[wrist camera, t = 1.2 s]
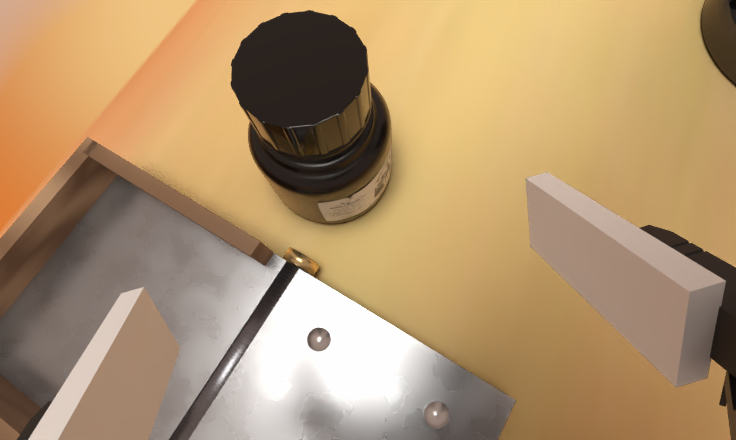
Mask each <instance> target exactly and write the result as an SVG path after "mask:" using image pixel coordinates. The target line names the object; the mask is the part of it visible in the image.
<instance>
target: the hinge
mask: <svg viewBox="0 0 736 440" xmlns="http://www.w3.org/2000/svg"><path fill="white" fill-rule="evenodd" d="M283 258H284V259H285V260H284V259H283ZM283 258H281V257H279V256H278V255H276V254H273V256H272V257H271V259H270V260H269V261H268V263H267V264H266V266H264V265H262V264H261V263H259V262H258V261H256V260H254V259H253V258H251V257H249V256H248V255H246V254H245V253H243V252H241V251H240V250H238V249H236V248H235V247H233V246H232V245H230V244H228V243H227V242H225V241H224V240H222V239H220V238H219V237H217V236H215V235H214V234H212V233H211V232H209V231H207V230H206V229H204V228H203V227H201V226H199V225H198V224H196V223H194V222H193V221H191V220H190V219H188V218H186V217H185V216H183V215H182V214H180V213H178V212H177V211H175V210H173V209H172V208H170V207H169V206H167V205H165V204H164V203H162V202H161V201H159V200H157V199H156V198H154V197H152V196H151V195H149V194H148V193H146V192H144V191H143V190H141V189H139V188H138V187H136V186H135V185H133V184H131V183H130V182H128V181H127V180H125V179H123V178H122V177H120V176H118V175H117V176H116V177H115V179H114V180H113V181H112V182H111V183H110V185H109V186H108V187H107V188H106V190H105V191H104V192H103V193H102V195H101V196H100V197H99V198H98V199H97V201H96V202H95V203H94V204H93V206H92V207H91V208H90V209H89V210H88V212H87V213H86V214H85V215H84V217H83V218H82V219H81V220H80V222H79V223H78V224H77V225H76V226H75V228H74V229H73V230H72V231H71V233H70V234H69V235H68V236H67V237H66V239H65V240H64V241H63V242H62V244H61V245H60V246H59V247H58V249H57V250H56V251H55V252H54V253H53V255H52V256H51V257H50V258H49V260H48V261H47V262H46V263H45V264H44V266H43V267H42V268H41V269H40V271H39V272H38V273H37V274H36V276H35V277H34V278H33V279H32V280H31V282H30V283H29V284H28V285H27V287H26V288H25V289H24V290H23V291H22V293H21V294H20V295H19V296H18V298H17V299H16V300H15V301H14V303H13V304H12V305H11V306H10V307H9V309H8V310H7V311H6V312H5V314H4V315H3V316H2V317H1V318H0V375H1V376H3V377H4V378H5V379H6V380H8V381H9V382H10V383H11V384H13V385H14V386H15V387H16V388H17V389H19V390H20V391H21V392H22V393H24V394H25V395H26V396H27V397H29V398H30V399H31V400H32V401H33V402H35V403H36V404H37V405H38V406H40V407H41V408H42V407H43V406H44V405H45V404H46V403H47V402H49V401H52V400H54V398H55V397H56V395H57V394H58V392H59V390H60V389H61V387H62V386H63V384H64V383H65V381H66V379H67V378H68V376H69V375H70V373H71V371H72V370H73V368H74V367H75V365H76V364H77V362H78V360H79V359H80V357H81V356H82V354H83V353H84V351H85V349H86V348H87V346H88V345H89V343H90V342H91V340H92V338H93V337H94V335H95V334H96V332H97V331H98V329H99V327H100V326H101V324H102V323H103V321H104V320H105V318H106V316H107V315H108V313H109V312H110V310H111V309H112V307H113V305H114V304H115V302H116V301H117V299H118V298H119V296H120V294H121V293H124V292H128V291H131V290H135V289H138V288H142V287H145V289H146V291H147V292H148V294H149V296H150V298H151V299H152V301H153V303H154V304H155V306H156V308H157V309H158V311H159V313H160V314H161V316H162V318H163V320H164V321H165V323H166V325H167V326H168V328H169V330H170V331H171V333H172V335H173V336H174V338H175V340H176V342H177V343H178V345H179V347H180V351H179V354H178V357H177V359H176V362H175V365H174V368H173V371H172V374H171V377H170V380H169V382H168V385H167V388H166V391H165V394H164V397H163V400H162V402H161V405H160V408H159V411H158V414H157V417H156V420H155V422H154V425H153V428H152V431H151V434H150V437H149V440H498V438H499V436H500V434H501V431H502V429H503V427H504V425H505V423H506V421H507V419H508V417H509V414H510V412H511V410H512V408H513V406H514V404H515V402H516V400H515V399H513V398H512V397H510V396H508V395H507V394H505V393H503V392H502V391H500V390H498V389H497V388H495V387H493V386H492V385H490V384H488V383H487V382H485V381H484V380H482V379H480V378H479V377H477V376H475V375H474V374H472V373H470V372H469V371H467V370H465V369H464V368H462V367H461V366H459V365H457V364H456V363H454V362H452V361H451V360H449V359H447V358H446V357H444V356H442V355H441V354H439V353H437V352H436V351H434V350H433V349H431V348H429V347H428V346H426V345H424V344H423V343H421V342H419V341H418V340H416V339H414V338H413V337H411V336H409V335H408V334H406V333H405V332H403V331H401V330H400V329H398V328H396V327H395V326H393V325H391V324H390V323H388V322H386V321H385V320H383V319H381V318H380V317H378V316H377V315H375V314H373V313H372V312H370V311H368V310H367V309H365V308H363V307H362V306H360V305H358V304H357V303H355V302H354V301H352V300H350V299H349V298H347V297H345V296H344V295H342V294H340V293H339V292H337V291H335V290H334V289H332V288H330V287H329V286H327V285H326V284H324V283H322V282H321V281H319V280H317V279H316V278H314V277H313V276H314V274H315V273H316V271H317V270H318V268H319V267H320V266H319V265H318V264H316V263H315V262H314V261H312V260H311V259H309V258H308V257H306V256H305V255H303V254H301V253H300V252H298V251H296V250H294V249H292V248H289V249H288V251H287V252H286V254H285V255H284V257H283Z"/></svg>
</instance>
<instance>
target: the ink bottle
mask: <svg viewBox="0 0 736 440" xmlns="http://www.w3.org/2000/svg"><path fill="white" fill-rule="evenodd" d="M231 66H232V81H231V87H232V89H233V91H234V93H235V94H236V96H237V98H238V100H239V104H240V106H241V108H242V109H243V111H244V112H245V114H246V116H247V117H248V119H249V121H250V122H249V128H248V142H249V148H250V152H251V155H252V157H253V159H254V161H255V163H256V165H257V167H258V168H259V170H260V171H261V172H262V174H263V175H264V177H265V178H266V179H267V181H268V182H269V183H270V185H271V186H272V188H273V189H274V190H275V192H276V193H277V194H278V196H279V197H280V199H281V200H282V201H283V202H284V203H285V205H286V206H287V207H289V208H290V209H291V210H292V211H293V212H295V213H296V214H298V215H300V216H302V217H304V218H306V219H309V220H312V221H315V222H320V223H342V222H347V221H350V220H353V219H355V218H357V217H359V216H361V215H363V214H364V213H366V212H367V211H368V210H370V209H371V208H372V207H373V206H374V205H375V204H376V203H377V201H378V200H379V199H380V198H381V196H382V195H383V193H384V191H385V189H386V187H387V185H388V182H389V179H390V175H391V167H392V144H391V119H390V114H389V110H388V107H387V104H386V102H385V100H384V98H383V96H382V95H381V93H380V92H379V91H378V90H377V88H376V87H375V86H374V85H373V84H372V83H370V78H369V67H368V56H367V49H366V46H365V45H363V43H362V41H361V40H360V38H359V36H358V35H357V33H356V30H355V29H354V28H353V27H350V26H348V25H347V24H345V23H344V22H342V21H341V20H339V19H338V18H337V17H336V16H334V15H327V14H322V13H318V12H314V11H311V10H308V11H304V12H294V13H283V14H281V15H280V16H278V17H276V18H273V19H271V20H269V21H267V22H263V23H261V24H260V25H258V27H257V28H256V29H255V30H254V31H253V32H252V33H251V34H250V35H248V36H247V37H246V38H244V39H243V40H242V42H241V44H240V47H239V49H238V51H237V53H236V55H235V57H234V59H233V60H232V62H231Z"/></svg>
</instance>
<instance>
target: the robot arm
mask: <svg viewBox="0 0 736 440" xmlns="http://www.w3.org/2000/svg"><path fill="white" fill-rule="evenodd" d="M701 22H702V32H703V36H704V40H705V43H706V45H707V48H708V50H709V52H710V54H711V56H712V57H713V59H714V60H715V62H716V63H717V65H718V66H719V67H720V69H721V70H722V71H723V72H724V73H725V74H726V75H727V76H728V77H729V78H730V79H731V80H732V81H733V82H734V83H735V84H736V0H706V1H705V3H704V6H703V10H702V21H701ZM526 190H527V205H528V219H529V234H530V247H531V248H532V249H533V250H534V251H535V252H536V253H537V254H539V255H540V256H541V257H542V258H543V259H544V260H545V261H546V262H547V263H548V264H549V265H550V266H551V267H552V268H553V269H554V270H555V271H556V272H557V273H558V274H559V275H560V276H561V277H562V278H563V279H564V280H565V281H566V282H567V283H568V284H569V285H570V286H572V287H573V288H574V289H575V290H576V291H577V292H578V293H579V294H580V295H581V296H582V297H583V298H584V299H585V300H586V301H587V302H588V303H589V304H590V305H591V306H592V307H593V308H594V309H595V310H596V311H597V312H598V313H599V314H600V315H601V316H602V317H603V318H605V319H606V320H607V321H608V322H609V323H610V324H611V325H612V326H613V327H614V328H615V329H616V330H617V331H618V332H619V333H620V334H621V335H622V336H623V337H624V338H625V339H626V340H627V341H628V342H629V343H630V344H631V345H632V346H633V347H634V348H635V349H636V350H638V351H639V352H640V353H641V354H642V355H643V356H644V357H645V358H646V359H647V360H648V361H649V362H650V363H651V364H652V365H653V366H654V367H655V368H656V369H657V370H658V371H659V372H660V373H661V374H662V375H663V376H664V377H665V378H666V379H667V380H668V381H669V382H670V383H672V384H673V385H674V386H675V387H680V386H683V385H686V384H689V383H693V382H696V381H699V380H703V379H706V378H708V372H709V367H710V362H711V358H712V359H713V360H714V361H715V362H717V363H718V364H719V365H720V366H721V367H723V368H724V369H725V370H726V371H727V372H726V376H725V381H724V386H723V390H722V395H721V399H720V404H719V405H721V406H725V407H726V404H727V409H728V418H729V427H730V435H731V440H736V268H735V267H733V266H732V265H730V264H728V263H726V262H724V261H723V260H721V259H719V258H717V257H716V256H714V255H712V254H710V253H709V252H707V251H705V252H704V251H703V249H702V248H700V247H698V246H696V245H694V244H693V243H689V242H688V241H687V240H686V239H684V238H682V237H680V236H679V235H677V234H675V233H673V232H671V231H668V230H665V229H661V228H658V227H654V226H651V225H648V226H644V227H641V228H638V227H637V226H635V225H633V224H632V223H630V222H628V221H627V220H625V219H623V218H622V217H620V216H618V215H617V214H615V213H614V212H612V211H610V210H609V209H607V208H605V207H604V206H602V205H600V204H599V203H597V202H595V201H594V200H592V199H591V198H589V197H587V196H586V195H584V194H582V193H581V192H579V191H577V190H576V189H574V188H572V187H571V186H569V185H568V184H566V183H564V182H563V181H561V180H559V179H558V178H556V177H554V176H553V175H551V174H549V173H548V172H546V173H542V174H539V175H535V176H532V177H528V178H526ZM179 351H180V347H179V345H178V343H177V342H176V340H175V338H174V336H173V335H172V333H171V331H170V330H169V328H168V326H167V325H166V323H165V321H164V320H163V318H162V316H161V314H160V313H159V311H158V309H157V308H156V306H155V304H154V303H153V301H152V299H151V298H150V296H149V294H148V292H147V291H146V289H145V287H142V288H138V289H135V290H131V291H128V292H124V293H121V294H120V296H119V298H118V299H117V301H116V302H115V304H114V305H113V307H112V309H111V310H110V312H109V313H108V315H107V316H106V318H105V320H104V321H103V323H102V324H101V326H100V327H99V329H98V331H97V332H96V334H95V335H94V337H93V338H92V340H91V342H90V343H89V345H88V346H87V348H86V349H85V351H84V353H83V354H82V356H81V357H80V359H79V360H78V362H77V364H76V365H75V367H74V368H73V370H72V371H71V373H70V375H69V376H68V378H67V379H66V381H65V383H64V384H63V386H62V387H61V389H60V390H59V392H58V394H57V395H56V397H55V398H54V400H52V401H49V402H47V403H46V404H45V405H44V406H43V407H42V408H41V409H40V410H39V411H38V412H37V413H36V414H35V415H34V416H33V417H32V418H31V419H30V420H29V422H28V423H27V425H26V426H25V428H24V429H23V431H22V432H21V434H20V435H19V437H18V438H17V440H149V437H150V434H151V431H152V428H153V425H154V422H155V420H156V417H157V414H158V411H159V408H160V405H161V402H162V400H163V397H164V394H165V391H166V388H167V385H168V382H169V380H170V377H171V374H172V371H173V368H174V365H175V362H176V359H177V357H178V354H179Z"/></svg>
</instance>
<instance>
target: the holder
mask: <svg viewBox="0 0 736 440" xmlns="http://www.w3.org/2000/svg"><path fill="white" fill-rule="evenodd" d="M117 175H118V176H120V177H122V178H123V179H125V180H127V181H128V182H130V183H131V184H133V185H135V186H136V187H138V188H139V189H141V190H143V191H144V192H146V193H148V194H149V195H151V196H152V197H154V198H156V199H157V200H159V201H161V202H162V203H164V204H165V205H167V206H169V207H170V208H172V209H173V210H175V211H177V212H178V213H180V214H182V215H183V216H185V217H186V218H188V219H190V220H191V221H193V222H194V223H196V224H198V225H199V226H201V227H203V228H204V229H206V230H207V231H209V232H211V233H212V234H214V235H215V236H217V237H219V238H220V239H222V240H224V241H225V242H227V243H228V244H230V245H232V246H233V247H235V248H236V249H238V250H240V251H241V252H243V253H245V254H246V255H248V256H249V257H251V258H253V259H254V260H256V261H258V262H259V263H261V264H262V265H264V266H266V264H267V263H268V261H269V260H270V259H271V257H272V256H273V254H274V253H273V252H272V251H271V250H270V249H268V248H267V247H266V246H265V245H264V244H263V243H261V242H260V241H259V240H257V239H255V238H254V237H252V236H250V235H249V234H247V233H245V232H244V231H242V230H240V229H239V228H237V227H235V226H234V225H232V224H231V223H229V222H227V221H226V220H224V219H222V218H221V217H219V216H217V215H216V214H214V213H212V212H211V211H209V210H207V209H206V208H204V207H202V206H201V205H199V204H197V203H196V202H194V201H193V200H191V199H189V198H188V197H186V196H184V195H183V194H181V193H179V192H178V191H176V190H174V189H173V188H171V187H169V186H168V185H166V184H164V183H163V182H161V181H159V180H158V179H156V178H155V177H153V176H151V175H150V174H148V173H146V172H145V171H143V170H141V169H140V168H138V167H136V166H135V165H133V164H131V163H130V162H128V161H126V160H125V159H123V158H122V157H120V156H118V155H117V154H115V153H113V152H112V151H110V150H108V149H107V148H105V147H103V146H102V145H100V144H98V143H97V142H95V141H93V140H92V139H90V138H88V137H87V138H86V139H85V141H84V142H83V143H82V144H81V145H80V146H79V148H78V149H77V150H76V151H75V152H74V153H73V155H72V156H71V157H70V158H69V159H68V160H67V162H66V163H65V164H64V165H63V166H62V167H61V169H60V170H59V171H58V172H57V173H56V174H55V176H54V177H53V178H52V179H51V180H50V181H49V183H48V184H47V185H46V186H45V187H44V188H43V190H42V191H41V192H40V193H39V194H38V195H37V197H36V198H35V199H34V200H33V201H32V202H31V204H30V205H29V206H28V207H27V208H26V209H25V211H24V212H23V213H22V214H21V215H20V216H19V218H18V219H17V220H16V221H15V222H14V223H13V225H12V226H11V227H10V228H9V229H8V230H7V232H6V233H5V234H4V235H3V236H2V237H1V239H0V318H1V317H2V316H3V315H4V314H5V312H6V311H7V310H8V309H9V307H10V306H11V305H12V304H13V303H14V301H15V300H16V299H17V298H18V296H19V295H20V294H21V293H22V291H23V290H24V289H25V288H26V287H27V285H28V284H29V283H30V282H31V280H32V279H33V278H34V277H35V276H36V274H37V273H38V272H39V271H40V269H41V268H42V267H43V266H44V264H45V263H46V262H47V261H48V260H49V258H50V257H51V256H52V255H53V253H54V252H55V251H56V250H57V249H58V247H59V246H60V245H61V244H62V242H63V241H64V240H65V239H66V237H67V236H68V235H69V234H70V233H71V231H72V230H73V229H74V228H75V226H76V225H77V224H78V223H79V222H80V220H81V219H82V218H83V217H84V215H85V214H86V213H87V212H88V210H89V209H90V208H91V207H92V206H93V204H94V203H95V202H96V201H97V199H98V198H99V197H100V196H101V195H102V193H103V192H104V191H105V190H106V188H107V187H108V186H109V185H110V183H111V182H112V181H113V180H114V179H115V177H116V176H117ZM40 409H41V407H40V406H38V405H37V404H36V403H35V402H33V401H32V400H31V399H30V398H29V397H27V396H26V395H25V394H24V393H22V392H21V391H20V390H19V389H17V388H16V387H15V386H14V385H13V384H11V383H10V382H9V381H8V380H6V379H5V378H4V377H3V376H1V375H0V440H17V438H18V437H19V435H20V434H21V432H22V431H23V429H24V428H25V426H26V425H27V423H28V422H29V420H30V419H31V418H32V417H33V416H34V415H35V414H36V413H37V412H38V411H39V410H40Z"/></svg>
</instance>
